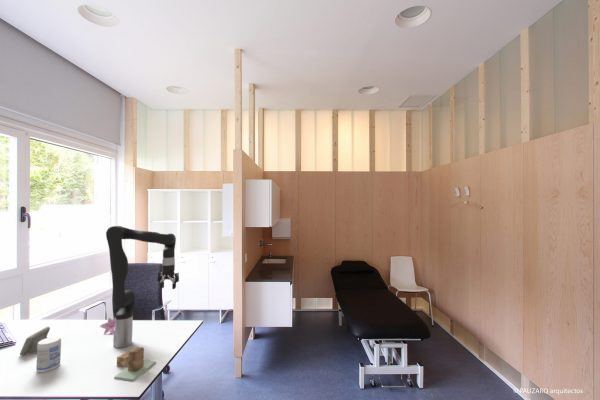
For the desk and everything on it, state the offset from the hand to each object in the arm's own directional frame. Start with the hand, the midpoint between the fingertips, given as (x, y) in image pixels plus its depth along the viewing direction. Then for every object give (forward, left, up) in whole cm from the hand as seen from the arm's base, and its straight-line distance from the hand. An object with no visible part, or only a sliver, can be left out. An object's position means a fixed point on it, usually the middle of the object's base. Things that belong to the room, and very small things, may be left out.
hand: (168, 288), depth 178 cm
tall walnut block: (+7, -34, -32) cm, 47 cm away
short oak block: (-4, -30, -33) cm, 45 cm away
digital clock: (-70, -27, -33) cm, 82 cm away
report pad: (+7, -34, -33) cm, 48 cm away
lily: (-45, +1, -33) cm, 56 cm away
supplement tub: (-41, -41, -33) cm, 67 cm away
